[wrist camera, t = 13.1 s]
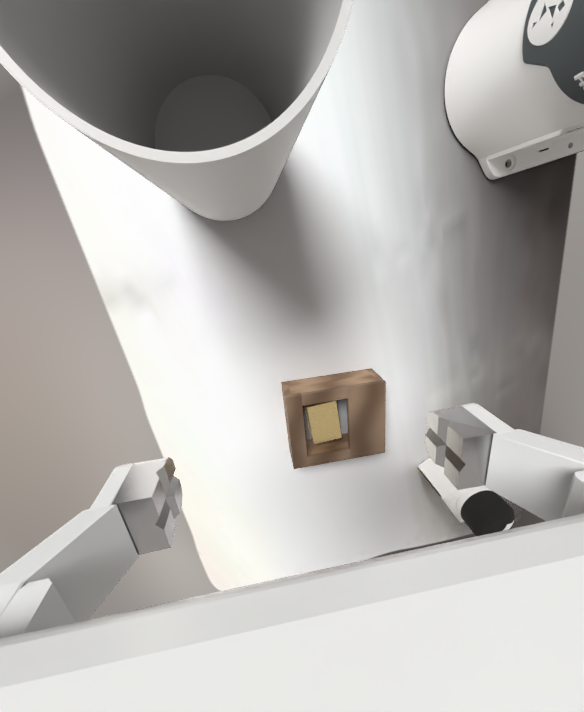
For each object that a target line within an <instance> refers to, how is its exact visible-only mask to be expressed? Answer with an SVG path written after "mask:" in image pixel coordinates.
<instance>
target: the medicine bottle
mask: <svg viewBox="0 0 584 712" xmlns="http://www.w3.org/2000/svg"><path fill="white" fill-rule="evenodd" d="M418 469H419V470H420V472H421V473H422V474H423V475H424V477H425V478H426V479H427V481H428V482H429V483H430V484H431V486H432V487H433V488H434V490H435V491H436V492H437V493H438V495H439V496H440V497H441V499H442V500H443V501H444V502H445V504H446V505H447V506H448V507H449V509H450V510H451V511H452V513H453V514H454V515H455V516H456V518H457V519H458V520H459V521H460V522H464V521H465V523H466V524H467V525H468V526H469V528H470V529H471V530H472V531H473V533H474V534H475V535H476V536H481V535H486V534H490V533H495V532H500V531H504V530H509V529H510V527H511V526H512V524H513V522H514V511H513V509H512V508H511V507H510V506H509V505H508V504H507V503H506V502H505V501H504V500H503V499H502V498H501V497H500V496H499V494H497V493H495V492H494V491H492V490H490V489H488V488H486V487H485V486H479V487H473V488H467V489H461V490H457V489H456V488H455V486H454V485H453V484H452V483H451V482H450V481H449V479H448V478H447V477H446V476H445V475H444V468H443V467H441V466H439V465H437V464H435V463H434V462H433V460H432V459H431V458H430V457H429V458H428V459H427V460H425V461H424V462H422V463H421V464H419V465H418Z"/></svg>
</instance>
